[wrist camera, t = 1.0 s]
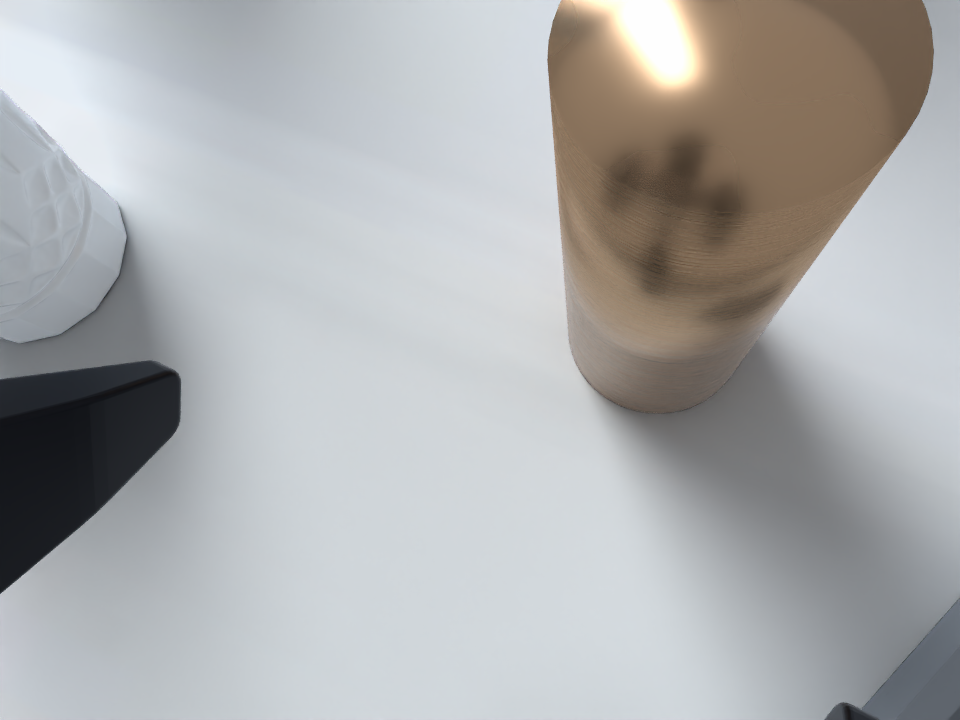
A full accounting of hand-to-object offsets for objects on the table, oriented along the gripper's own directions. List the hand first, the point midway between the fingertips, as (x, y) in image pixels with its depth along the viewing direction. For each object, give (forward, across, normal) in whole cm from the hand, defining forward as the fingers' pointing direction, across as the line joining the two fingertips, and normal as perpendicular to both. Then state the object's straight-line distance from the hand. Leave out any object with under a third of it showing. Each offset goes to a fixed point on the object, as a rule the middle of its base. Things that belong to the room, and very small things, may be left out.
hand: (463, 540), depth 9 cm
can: (+15, 0, +3) cm, 15 cm away
